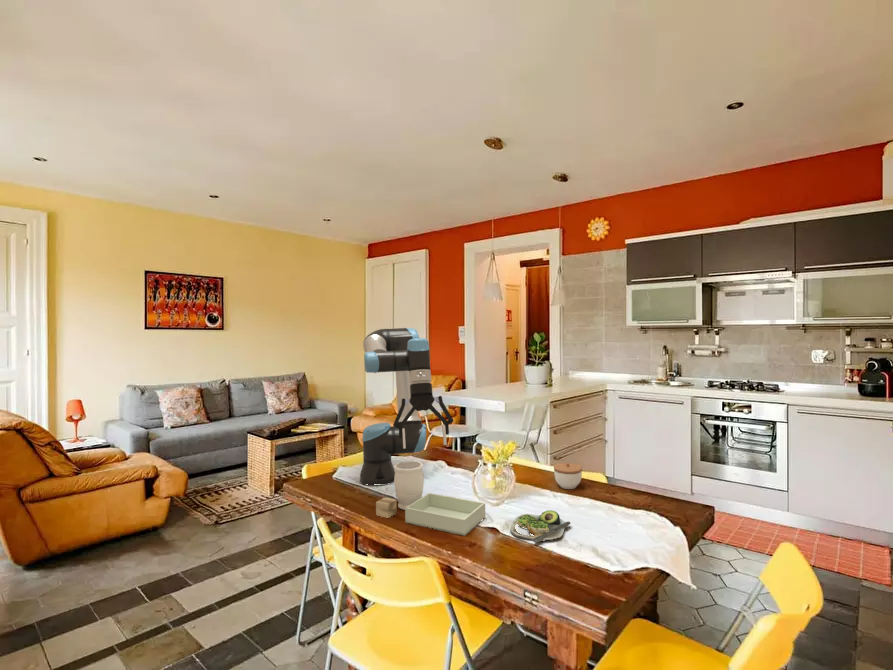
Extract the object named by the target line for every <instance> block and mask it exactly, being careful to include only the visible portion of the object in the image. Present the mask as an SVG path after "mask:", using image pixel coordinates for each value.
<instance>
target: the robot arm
mask: <svg viewBox="0 0 893 670" xmlns="http://www.w3.org/2000/svg"><path fill="white" fill-rule="evenodd" d="M419 335H420V334H419V332H418V330H417V329H415V328H413V327H412V328H411V327H402V328H400V327H399V328H398V327H397V328H382V329H381V328H380V329H377V330H374V331H372V332H370V333H369V334H367V335H366V336H365V338H364V340H363V342H362V344H363V350H364V352H365V353H363V354H364V356H363V358H364V359H363V360H364V361H363V363H364V371H365V372H366V373H367V374H368V373H371V374H372V373H373V374H377V373H387V372H388V373H391V372H394V373H395V385H396V399H397V400H396V403H397V404H396V405H397V415H396V417H395V420H394V422H393V424H392V426H391V424H390V423H389V422H379V423H373V424H371V425H368V426H366V427H364V429H363V430H362V438H361V439H362V440H361V441H362V456H363V460H362V461H363V463H362V466H361V470H360V475H359V483H360V482H361V483H360V484H362V483H363V484H362V485H364V484H368V485H374V484H386V485H389V484H388V483H390V484H392V483H394V476H395V470H394V465H393V461H392V456H393V455H404V454H415V453H421V452H423V451H424V449H425V446H426V443H427V442H426V441H427V426H426V424H425V423H423V420H422V419H421V418H420V417H419V412H421V411H431V412H432V414H434V415H435V416H436V417H437V418H438V419H439V420H440V422H441V423H443V424H442V426H441V427H442V439H443V441H442V442H443V446H447V445H448V444H447V435H449V434H450V428H449V425H450V424H452V423H453V422H454V418H453V417H452V416H451V413H450V412H449V410H448V409H447V407H446V405H445V403H444V401H443V396H441V395H439V396H435V397H434V396H433V384H432V372H431V355H430V343H429V339H427V338H424V337H420V336H419ZM434 402H436V404H439V406H440V408H441V410H442V411H443V414H444V415H445V417H446V418H447V419H446V418H445V417H444V416H443V415H442V414H441V413H440V412H439V411H438V410H437V409H436V408H435V407H434V406H433V403H434ZM368 485H367V486H368Z"/></svg>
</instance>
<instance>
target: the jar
mask: <svg viewBox="0 0 893 670" xmlns="http://www.w3.org/2000/svg"><path fill="white" fill-rule="evenodd" d="M393 467H394V471H395V476H394V482H393V486H394V489H395V490H394V491H395V496H396V500H397V502H398V504H397V507H398V509H400V510H403V511H405V508H406V507H407V506H409V505H411V504H412V503H414V502H415V501H417V500H418V499H420V498H422V497H423V492H424V484H425V482H424V481H425V479H424V473H423V469H424V463H422V462H420V461H402V462H398V463H396V464H394V465H393Z"/></svg>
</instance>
